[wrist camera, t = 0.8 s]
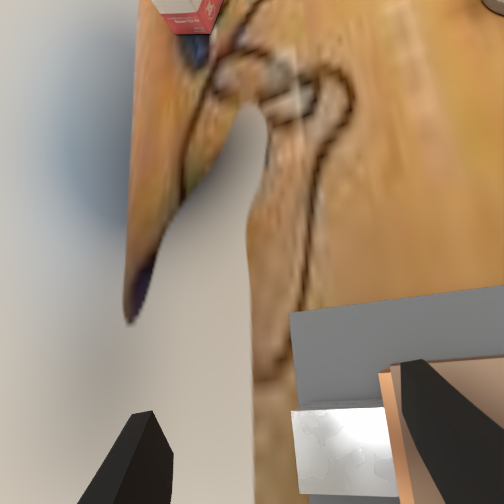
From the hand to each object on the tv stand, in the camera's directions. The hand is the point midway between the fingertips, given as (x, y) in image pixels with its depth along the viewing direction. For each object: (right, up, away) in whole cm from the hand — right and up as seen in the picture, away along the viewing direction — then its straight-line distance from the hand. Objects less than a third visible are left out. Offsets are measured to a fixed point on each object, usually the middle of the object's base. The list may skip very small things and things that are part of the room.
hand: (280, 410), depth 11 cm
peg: (+7, -6, +12) cm, 15 cm away
